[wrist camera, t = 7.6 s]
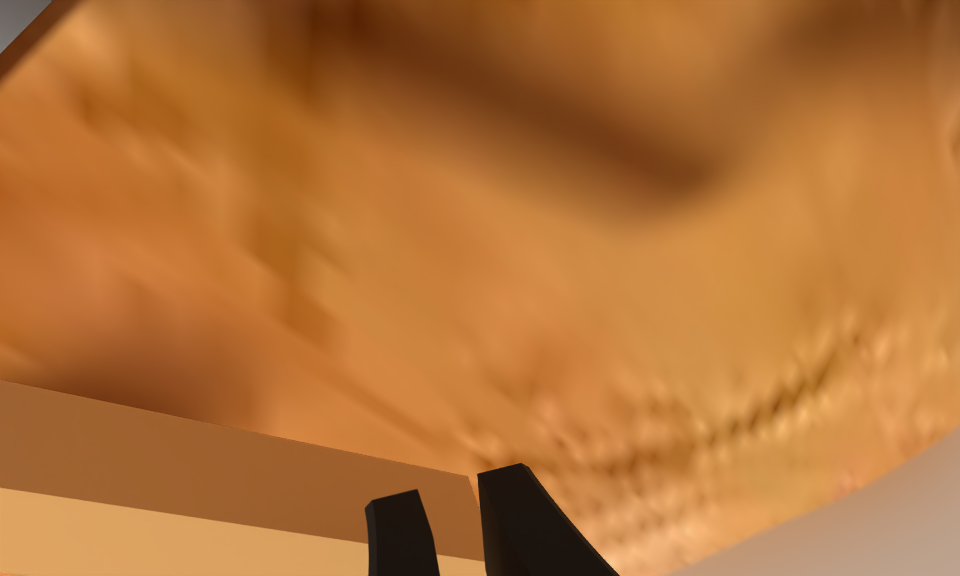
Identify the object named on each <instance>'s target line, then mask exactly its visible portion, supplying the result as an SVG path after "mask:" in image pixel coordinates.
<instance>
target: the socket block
mask: <svg viewBox="0 0 960 576" xmlns="http://www.w3.org/2000/svg"><path fill="white" fill-rule="evenodd" d="M52 1H53V0H0V53H1V52H2V51H3V50H4V49H5V48H6V47H7V46H8V45H9V44H10V43H11V42H12V41H13V40H14V39H15V38H16V37H17V36H18V35H19V34H20V33H21V32H22V31H23V30H24V29H25V28H26V27H27V26H28V25H29V24H30V23H31V22H32V21H33V20H34V19H35V18H36V17H37V16H38V15H39V14H40V13H41V12H42V11H43V10H44V9H45V8H46V7H47V6H48V5H49V4H50V3H51V2H52Z"/></svg>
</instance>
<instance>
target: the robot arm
mask: <svg viewBox="0 0 960 576" xmlns="http://www.w3.org/2000/svg"><path fill="white" fill-rule="evenodd" d="M477 476H478V488H479V500H480V512H481V524H482V535H483V547H484V559H485V571H486V574H487V576H620V575H619V574H618V573H617V572H616V571H615V570H614V569H613V568H612V567H611V566H610V565H609V564H608V563H607V562H606V561H605V560H604V559H603V558H602V556H601V555H600V554H599V553H598V552H597V551H596V550H595V549H594V548H593V546H592V545H591V544H590V543H589V542H588V541H587V540H586V539H585V537H584V536H583V535H582V534H581V533H580V532H579V530H578V529H577V528H576V527H575V526H574V524H573V523H572V522H571V521H570V520H569V519H568V517H567V516H566V515H565V514H564V513H563V511H562V510H561V509H560V508H559V506H558V505H557V504H556V503H555V501H554V500H553V499H552V498H551V496H550V495H549V494H548V493H547V491H546V490H545V489H544V487H543V486H542V485H541V483H540V482H539V481H538V479H537V478H536V477H535V475H534V474H533V472H532V471H531V469H530V468H529V467H528V466H526V465H524V464H522V463H519V464H515V465H511V466H507V467H503V468H499V469H495V470H491V471H487V472H483V473H479V474H477ZM365 515H366V521H367V530H368V551H369V568H368V576H440V572H439V566H438V560H437V555H436V549H435V543H434V538H433V534H432V531H431V527H430V524H429V521H428V518H427V515H426V512H425V509H424V506H423V503H422V500H421V497H420V494H419V492H418V489H414V490H410V491H406V492H402V493H398V494H394V495H390V496H386V497H382V498H378V499H374V500H371V502H370V503H369V504H368V505H367V506H366V507H365Z"/></svg>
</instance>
